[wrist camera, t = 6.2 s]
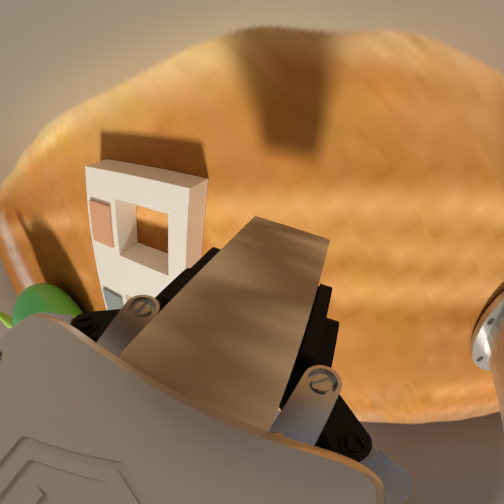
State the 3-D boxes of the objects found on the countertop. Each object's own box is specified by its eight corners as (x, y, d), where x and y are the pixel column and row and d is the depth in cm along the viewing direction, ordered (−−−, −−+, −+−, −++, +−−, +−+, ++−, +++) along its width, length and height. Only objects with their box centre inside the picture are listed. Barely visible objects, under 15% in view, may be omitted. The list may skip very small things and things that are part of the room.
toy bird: (123, 355, 42) (76, 413, 30) (77, 338, 48) (36, 380, 36) (76, 268, 34) (7, 324, 22) (38, 267, 41) (-13, 307, 28)
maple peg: (329, 239, 13) (253, 466, 4) (308, 300, 15) (233, 487, 6) (255, 216, 14) (94, 381, 5) (243, 277, 16) (128, 434, 7)
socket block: (208, 178, 21) (187, 189, 18) (197, 351, 33) (185, 369, 30) (106, 159, 23) (83, 167, 21) (124, 315, 35) (110, 329, 32)
